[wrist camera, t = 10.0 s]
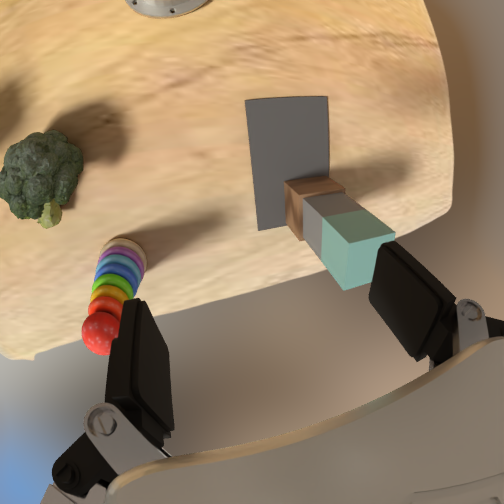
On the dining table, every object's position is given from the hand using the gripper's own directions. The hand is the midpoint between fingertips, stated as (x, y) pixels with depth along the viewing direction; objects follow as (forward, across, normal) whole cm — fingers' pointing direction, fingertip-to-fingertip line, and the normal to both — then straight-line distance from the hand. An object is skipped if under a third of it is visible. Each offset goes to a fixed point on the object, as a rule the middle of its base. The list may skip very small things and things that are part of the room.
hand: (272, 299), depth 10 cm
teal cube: (+18, -14, +10) cm, 25 cm away
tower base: (+30, -14, +10) cm, 34 cm away
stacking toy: (+31, +16, +14) cm, 37 cm away
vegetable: (+31, +22, -2) cm, 38 cm away
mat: (+30, -12, +4) cm, 33 cm away
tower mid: (+24, -14, +10) cm, 29 cm away
